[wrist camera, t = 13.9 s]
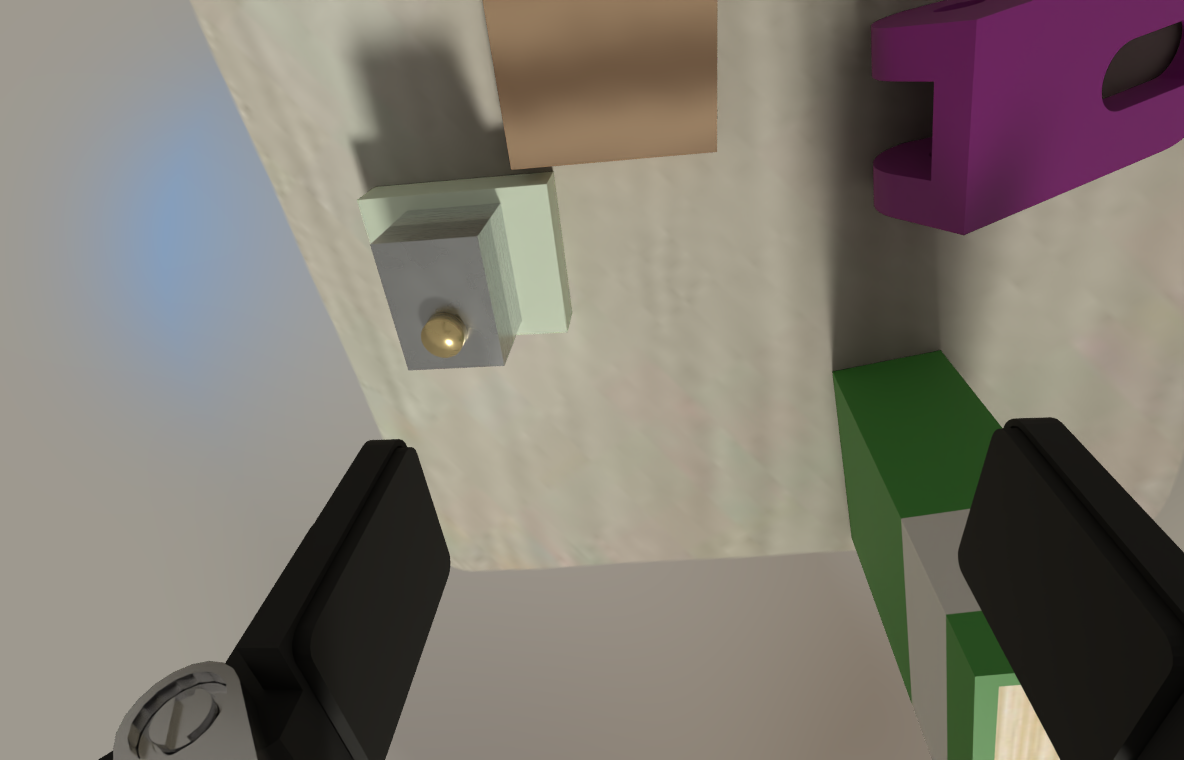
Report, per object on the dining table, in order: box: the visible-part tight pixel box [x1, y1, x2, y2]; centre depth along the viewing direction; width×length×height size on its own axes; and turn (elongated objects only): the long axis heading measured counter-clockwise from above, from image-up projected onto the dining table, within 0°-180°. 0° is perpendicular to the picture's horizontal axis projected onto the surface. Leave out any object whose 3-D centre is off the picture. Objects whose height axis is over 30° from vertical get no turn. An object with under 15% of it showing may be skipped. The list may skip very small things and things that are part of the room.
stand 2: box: [483, 0, 717, 170], centre depth 35 cm, size 10×12×3 cm
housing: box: [370, 203, 522, 370], centre depth 37 cm, size 8×6×7 cm
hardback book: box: [832, 350, 1060, 760], centre depth 39 cm, size 18×7×24 cm, turn 17°
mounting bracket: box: [871, 0, 1184, 235], centre depth 33 cm, size 9×8×18 cm
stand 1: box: [357, 172, 572, 335], centre depth 42 cm, size 10×12×3 cm
